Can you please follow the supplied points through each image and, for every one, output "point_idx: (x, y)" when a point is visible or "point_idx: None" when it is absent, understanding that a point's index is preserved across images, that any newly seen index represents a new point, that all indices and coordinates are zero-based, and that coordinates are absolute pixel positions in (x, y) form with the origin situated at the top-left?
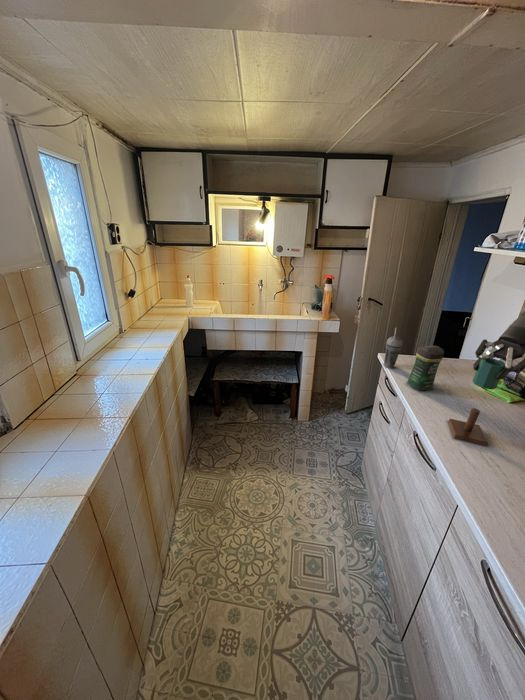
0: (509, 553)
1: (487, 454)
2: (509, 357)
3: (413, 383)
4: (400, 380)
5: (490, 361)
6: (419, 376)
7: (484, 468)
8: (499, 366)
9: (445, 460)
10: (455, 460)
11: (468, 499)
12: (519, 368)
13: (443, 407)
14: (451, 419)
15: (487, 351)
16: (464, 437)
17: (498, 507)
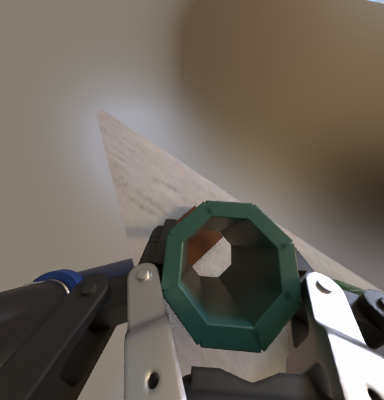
0: (104, 121)
1: (156, 216)
2: (151, 369)
3: (334, 280)
4: (358, 285)
5: (258, 302)
6: (351, 290)
7: (148, 188)
8: (177, 225)
9: (177, 162)
10: (172, 171)
11: (140, 138)
12: (73, 292)
13: None
14: (219, 236)
15: (374, 351)
16: (186, 213)
17: (121, 152)
